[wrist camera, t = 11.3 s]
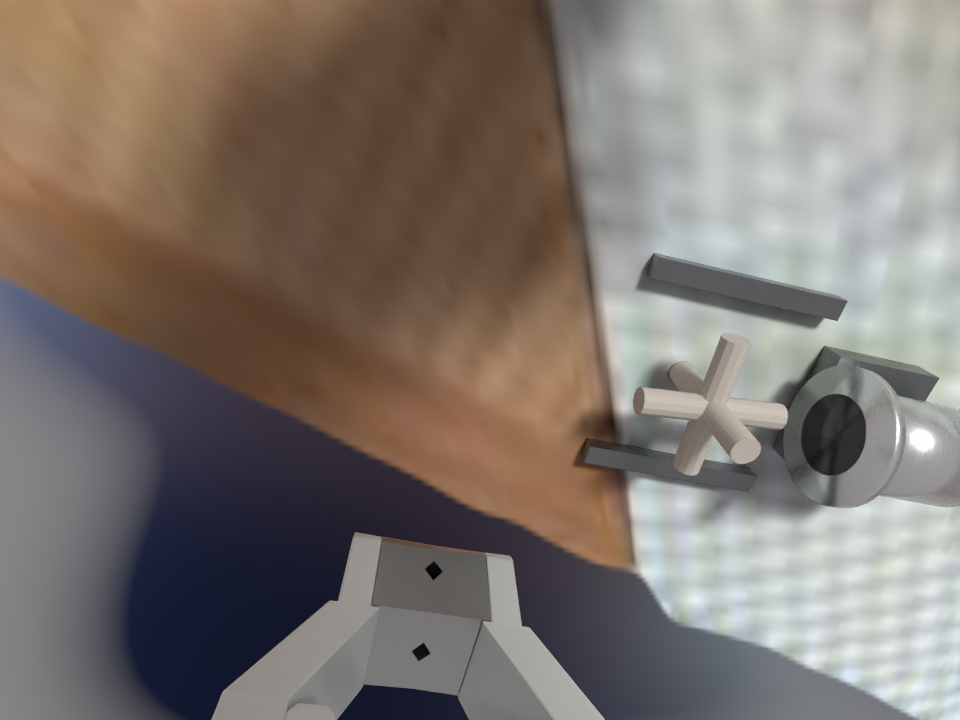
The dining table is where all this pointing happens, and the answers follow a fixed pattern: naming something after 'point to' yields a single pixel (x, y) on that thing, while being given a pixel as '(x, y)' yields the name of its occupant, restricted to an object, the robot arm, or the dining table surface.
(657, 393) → the pipe connector
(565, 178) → the dining table surface
